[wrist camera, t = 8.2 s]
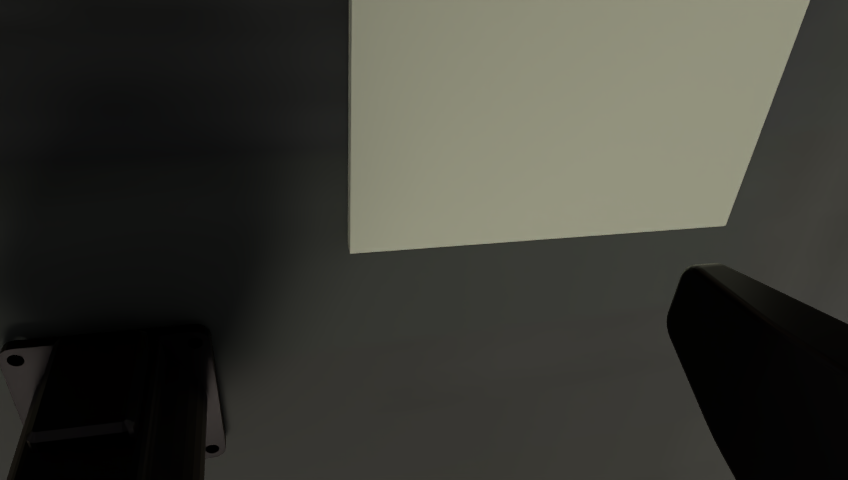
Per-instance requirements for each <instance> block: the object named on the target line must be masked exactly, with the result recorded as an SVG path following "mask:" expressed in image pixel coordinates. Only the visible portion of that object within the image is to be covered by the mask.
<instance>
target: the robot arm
mask: <svg viewBox="0 0 848 480" xmlns="http://www.w3.org/2000/svg"><path fill="white" fill-rule="evenodd" d="M667 329H668V333H669V336H670V339H671V341H672V343H673V346H674V348H675V350H676V353H677V355H678V357H679V360H680V362H681V364H682V367H683V369H684V372H685V374H686V376H687V379H688V381H689V383H690V386H691V388H692V390H693V393H694V395H695V397H696V400H697V402H698V404H699V407H700V409H701V411H702V414H703V416H704V418H705V421H706V423H707V425H708V427H709V429H710V432H711V434H712V436H713V438H714V440H715V442H716V444H717V446H718V448H719V450H720V452H721V453H722V455H723V457H724V459H725V461H726V463H727V465H728V466H729V468H730V470H731V472H732V474H733V475H734V477H735V479H736V480H848V324H846V323H844V322H842V321H840V320H838V319H836V318H834V317H832V316H830V315H828V314H826V313H823V312H821V311H819V310H817V309H815V308H813V307H811V306H809V305H807V304H805V303H803V302H800V301H798V300H796V299H794V298H792V297H790V296H788V295H786V294H784V293H782V292H779V291H777V290H775V289H773V288H771V287H769V286H767V285H765V284H763V283H761V282H759V281H756V280H754V279H752V278H750V277H748V276H746V275H744V274H742V273H740V272H738V271H735V270H733V269H731V268H729V267H727V266H725V265H722V264H718V263H711V264H699V265H692V266H689V267H687V268H686V269H685V270H684V271H683V273H682V275H681V277H680V280H679V283H678V286H677V289H676V292H675V295H674V297H673V300H672V303H671V306H670V309H669V312H668V315H667ZM194 337H195V338H199V339H200V340H197V341H193V340H191V339H190V338H194ZM12 355H19V356H21V357H22V358H17V357H14V356H12ZM0 368H1V370H2V373H3V375H4V378H5V380H6V383H7V386H8V388H9V391H10V393H11V396H12V398H13V401H14V403H15V406H16V409H17V411H18V414H19V416H20V419H21V421H22V424H23V429H22V433H21V436H20V439H19V442H18V445H17V448H16V451H15V455H14V458H13V461H12V464H11V467H10V470H9V474H8V477H7V480H204V471H205V459H206V458H214V457H217V456H220V455H222V454H223V453H224V452H225V449H226V436H225V429H224V422H223V415H222V409H221V402H220V395H219V388H218V381H217V374H216V367H215V361H214V354H213V347H212V340H211V334H210V331H209V329H207V328H206V327H205V326H202V325H200V324H190V325H179V326H169V327H158V328H147V329H136V330H125V331H114V332H103V333H92V334H82V335H71V336H60V337H49V338H38V339H27V340H16V341H11V342H8V343H6V344H5V345H4V346H3V347H2V349H1V352H0Z"/></svg>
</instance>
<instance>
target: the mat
mask: <svg viewBox="0 0 848 480" xmlns="http://www.w3.org/2000/svg"><path fill="white" fill-rule="evenodd" d="M809 2H810V0H349V72H348V247H349V251H350V254H352V253H366V252H379V251H393V250H406V249H420V248H433V247H447V246H460V245H474V244H487V243H500V242H514V241H527V240H541V239H554V238H568V237H581V236H595V235H608V234H622V233H635V232H648V231H662V230H675V229H689V228H702V227H716V226H725V225H726V223H727V220H728V217H729V215H730V212H731V209H732V207H733V204H734V201H735V199H736V196H737V193H738V191H739V188H740V185H741V183H742V180H743V177H744V175H745V172H746V169H747V167H748V164H749V161H750V159H751V156H752V153H753V151H754V148H755V145H756V143H757V140H758V137H759V135H760V132H761V129H762V127H763V124H764V121H765V119H766V116H767V113H768V111H769V108H770V105H771V103H772V100H773V97H774V95H775V92H776V90H777V87H778V84H779V82H780V79H781V76H782V74H783V71H784V68H785V66H786V63H787V60H788V58H789V55H790V52H791V50H792V47H793V44H794V42H795V39H796V36H797V34H798V31H799V28H800V26H801V23H802V20H803V18H804V15H805V12H806V10H807V7H808V4H809Z"/></svg>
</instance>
